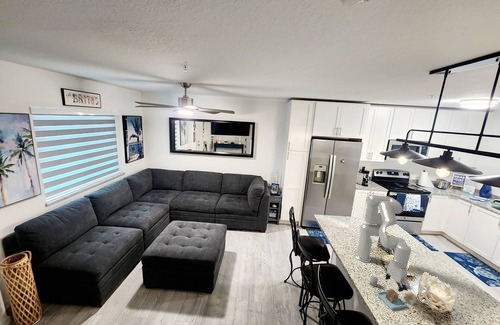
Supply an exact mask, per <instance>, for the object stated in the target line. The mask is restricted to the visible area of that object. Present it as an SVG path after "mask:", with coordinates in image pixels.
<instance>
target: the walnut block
mask: <svg viewBox="0 0 500 325" xmlns="http://www.w3.org/2000/svg"><path fill="white" fill-rule="evenodd" d="M386 291H387V293H386V297H385V298H386V299H387V300H388V301H389V302H390V303H396V302H397V300H398V297H399V292H398V293H397V291H395V290H394V289H393V288H391V289H387V290H386Z"/></svg>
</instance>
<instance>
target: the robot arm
mask: <svg viewBox="0 0 500 325" xmlns="http://www.w3.org/2000/svg"><path fill="white" fill-rule="evenodd" d="M365 201H366V202H365V203H366V210H365V213H364V221H365V223H362V224H360V227H359V229H360V230H359V232H360V234H359V239H358V240H359V241H358V246H357V247H355V248H354V251H355V253H354V257H355V258H356V259H357V260H358V261H361V262H363V263H369V262H371V260H372V258H371V257H370V256H371V249H372V246H373V239H372V238H371V237H379V240H380V243H381V245H382V246H383V248H385V249H391V250H394V254H393V255H391V257H392V259H391V260H390V262H389V264H384V270H385V278H384V279H385V280H387V281H388V280H390V279H391V278H392V279H394V281H397V282H398V283H400V286H399V287H398V289H397V290H398V293H401V292H403V291H405V290H404V287H407V288H408V287H409V286H410V285H411V284H410V283H409V282H408V280H407V276H408V263H409V261H410V260H409V259H410V255H411V252H412V248H411V247H410V246H409V245H408V244H407V242H406V240H405V239H404V238H402V237H396V236H387V232H386V230H387V228H388V227H391V226H394V225H396V224H398V219H397V217H396V214H397V215H400V214H401V213H402V211H403V206H402V205H401V203H400V201H398V200H396V199H395V198H393V197H390V196H385V195H376V194H375V195H374V194H370V195H368V196H367V197H366V200H365ZM397 282H396V283H397ZM402 283H403V285H402ZM405 283H406V284H405Z"/></svg>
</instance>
